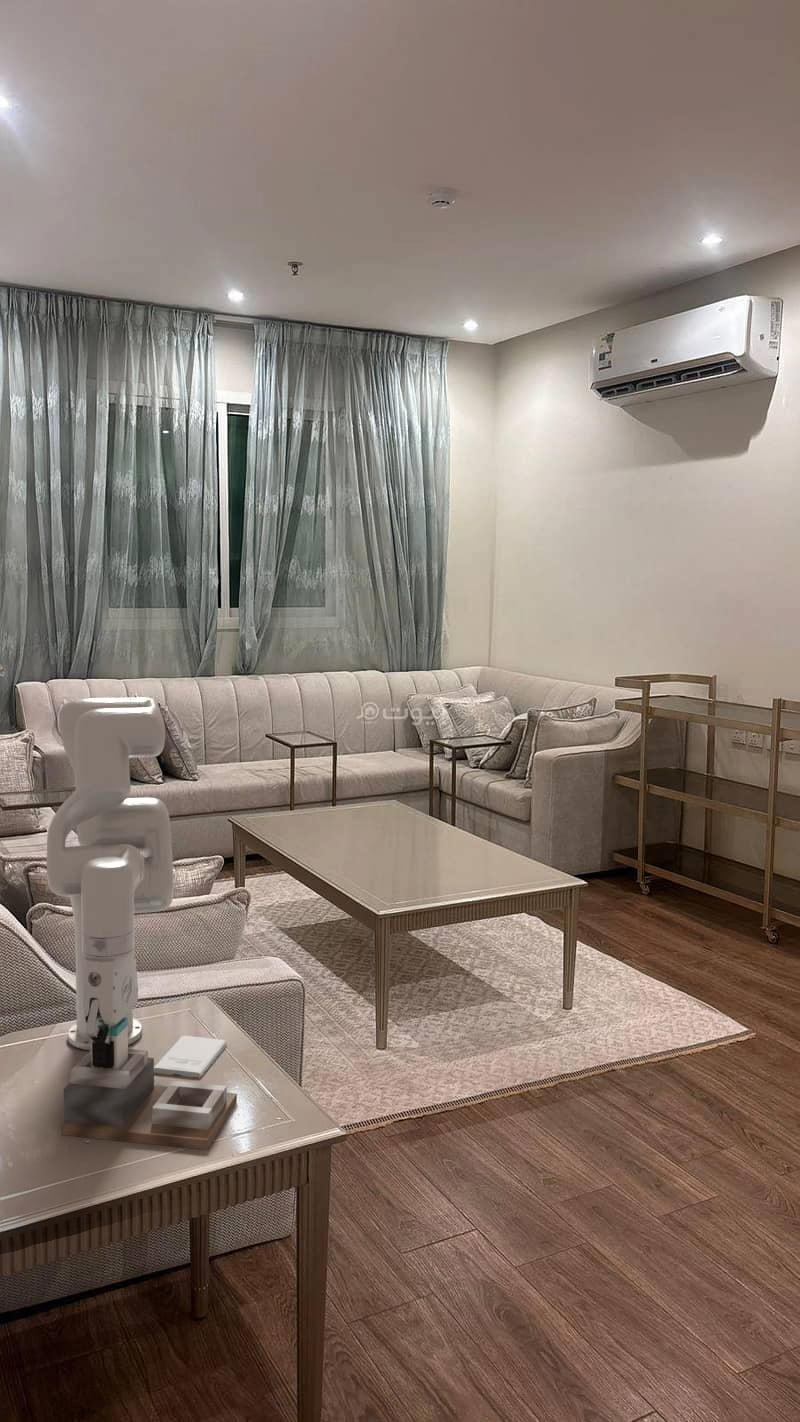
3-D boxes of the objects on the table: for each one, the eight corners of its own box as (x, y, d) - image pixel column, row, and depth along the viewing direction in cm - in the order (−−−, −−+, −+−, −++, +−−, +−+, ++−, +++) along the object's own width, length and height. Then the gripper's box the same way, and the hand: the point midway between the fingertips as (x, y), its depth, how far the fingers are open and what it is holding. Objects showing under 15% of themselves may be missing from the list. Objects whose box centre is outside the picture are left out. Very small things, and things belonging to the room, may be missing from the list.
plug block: (91, 1077, 161) (90, 1026, 160) (103, 1065, 165) (102, 1015, 164) (117, 1080, 160) (116, 1028, 159) (128, 1068, 164) (127, 1017, 163)
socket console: (61, 1134, 157) (60, 1079, 156) (101, 1089, 171) (101, 1038, 170) (207, 1150, 154) (207, 1093, 153) (236, 1102, 167) (236, 1050, 166)
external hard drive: (226, 1048, 187) (200, 1081, 175) (181, 1043, 189) (152, 1076, 177) (226, 1040, 187) (200, 1072, 175) (181, 1035, 189) (152, 1066, 176)
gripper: (108, 964, 151) (110, 1088, 153) (153, 925, 167) (154, 1038, 170) (58, 959, 152) (60, 1083, 154) (107, 922, 168) (109, 1034, 171)
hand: (109, 1058), depth 162 cm, fingers closed on plug block, 3 cm apart
